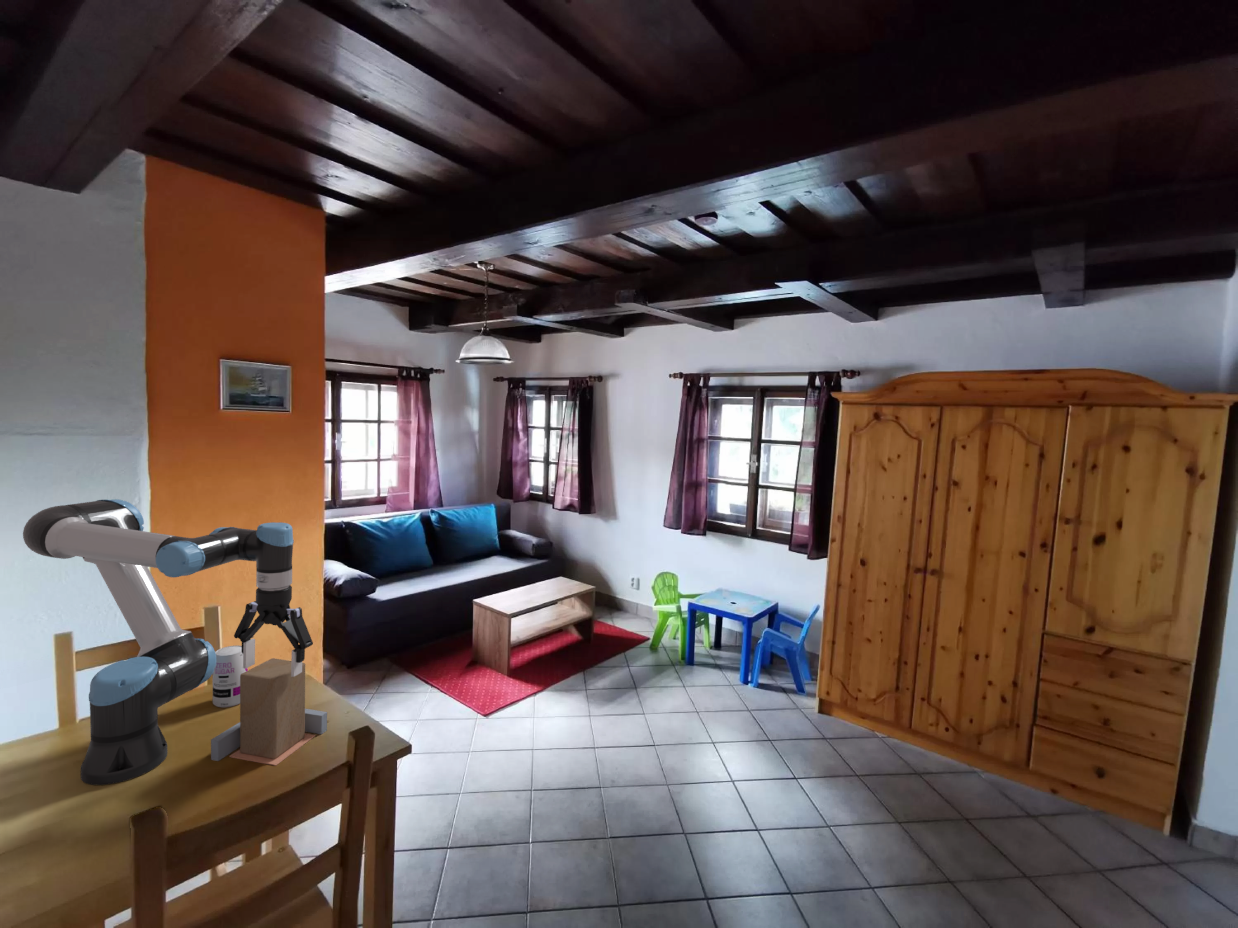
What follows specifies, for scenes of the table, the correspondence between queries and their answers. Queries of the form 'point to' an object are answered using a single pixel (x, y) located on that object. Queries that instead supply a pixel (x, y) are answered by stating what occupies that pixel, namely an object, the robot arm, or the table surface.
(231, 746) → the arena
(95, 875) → the table surface
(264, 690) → the wooden block
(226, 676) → the supplement can
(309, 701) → the table surface
